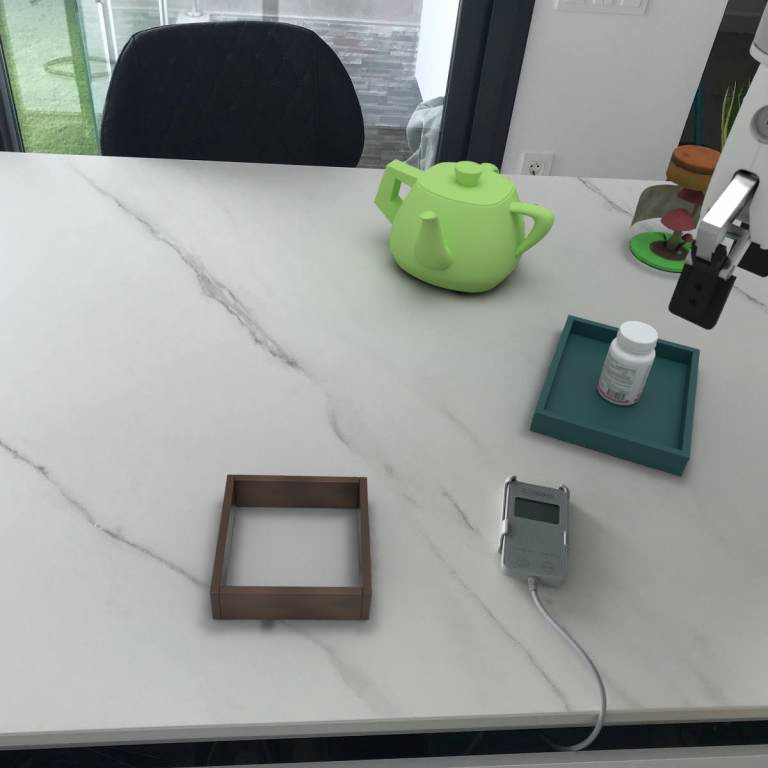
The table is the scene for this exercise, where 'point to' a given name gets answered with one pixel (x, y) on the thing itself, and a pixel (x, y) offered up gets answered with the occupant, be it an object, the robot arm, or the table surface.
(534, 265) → the table surface
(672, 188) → the mushroom figurine
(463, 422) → the table surface
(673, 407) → the tray
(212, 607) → the square wooden frame
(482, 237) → the teapot
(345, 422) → the table surface
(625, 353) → the pill bottle
